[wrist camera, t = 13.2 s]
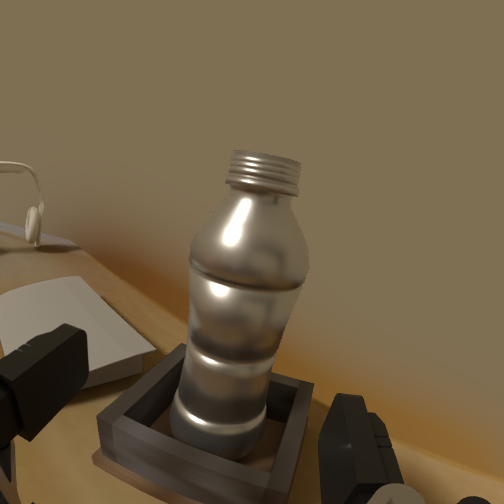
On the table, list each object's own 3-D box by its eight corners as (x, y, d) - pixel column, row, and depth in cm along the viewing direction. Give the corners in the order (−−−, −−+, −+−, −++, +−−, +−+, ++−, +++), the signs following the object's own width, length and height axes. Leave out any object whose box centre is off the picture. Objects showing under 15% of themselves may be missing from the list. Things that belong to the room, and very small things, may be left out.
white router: (86, 296, 44) (86, 271, 43) (175, 383, 30) (178, 351, 29) (-9, 307, 32) (-12, 280, 31) (30, 427, 18) (20, 390, 17)
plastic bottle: (179, 407, 24) (214, 151, 20) (259, 423, 24) (319, 171, 20) (158, 461, 18) (190, 139, 14) (256, 481, 18) (341, 167, 14)
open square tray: (305, 424, 26) (321, 381, 25) (273, 539, 14) (295, 502, 13) (174, 382, 29) (178, 338, 28) (93, 463, 17) (84, 416, 16)
